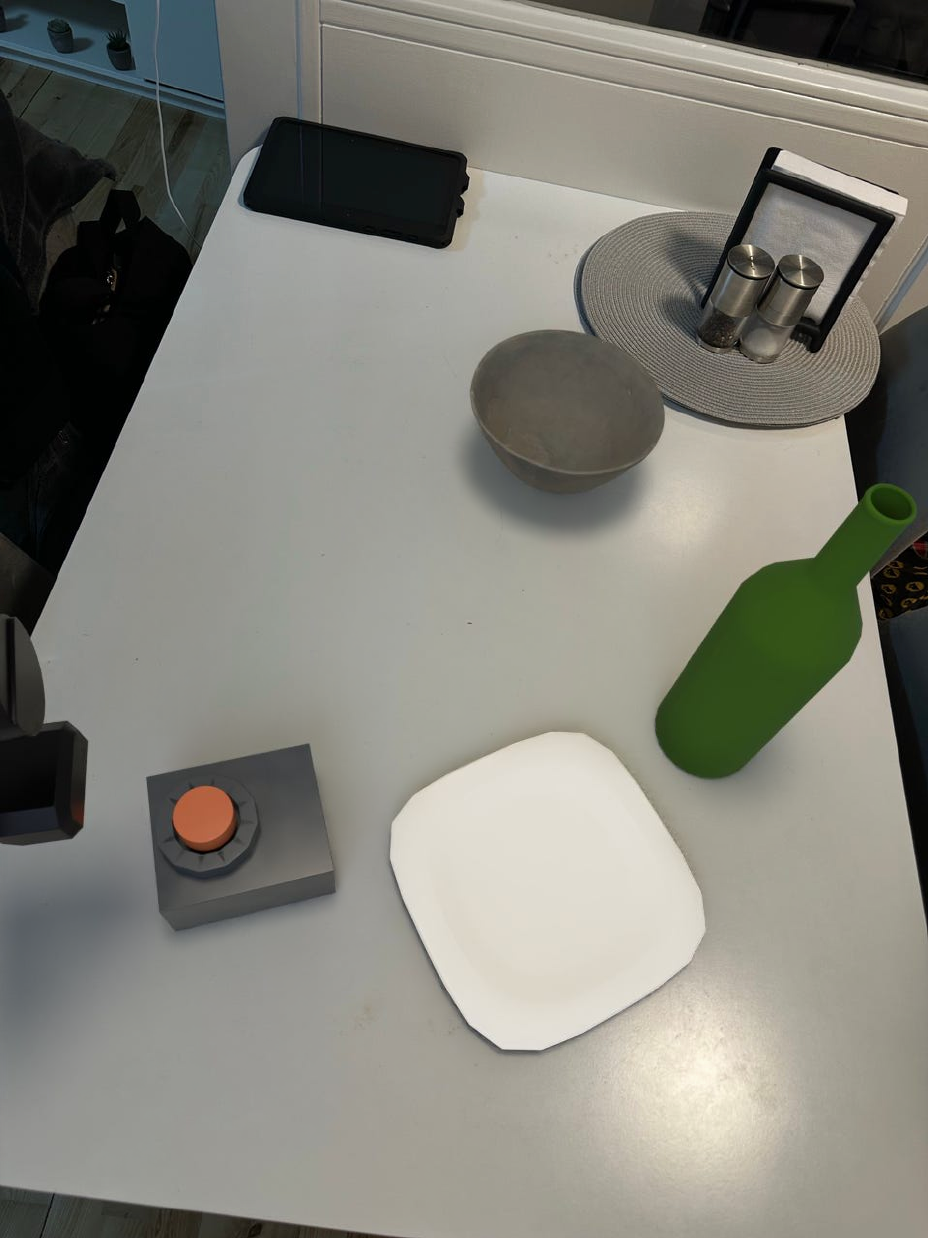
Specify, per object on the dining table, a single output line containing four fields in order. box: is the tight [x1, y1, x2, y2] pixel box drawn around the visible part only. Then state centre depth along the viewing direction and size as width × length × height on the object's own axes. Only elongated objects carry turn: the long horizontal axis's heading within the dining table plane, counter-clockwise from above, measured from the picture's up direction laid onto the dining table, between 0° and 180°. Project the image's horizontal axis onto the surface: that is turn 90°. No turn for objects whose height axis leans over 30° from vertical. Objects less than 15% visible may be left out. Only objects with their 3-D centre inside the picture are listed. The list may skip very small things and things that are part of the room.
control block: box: [145, 743, 337, 933], centre depth 65 cm, size 12×10×8 cm
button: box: [173, 786, 237, 851], centre depth 61 cm, size 4×4×2 cm
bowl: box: [469, 329, 666, 495], centre depth 88 cm, size 19×19×10 cm
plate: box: [389, 731, 707, 1051], centre depth 69 cm, size 22×22×2 cm
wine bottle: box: [655, 482, 918, 780], centre depth 64 cm, size 9×9×32 cm
